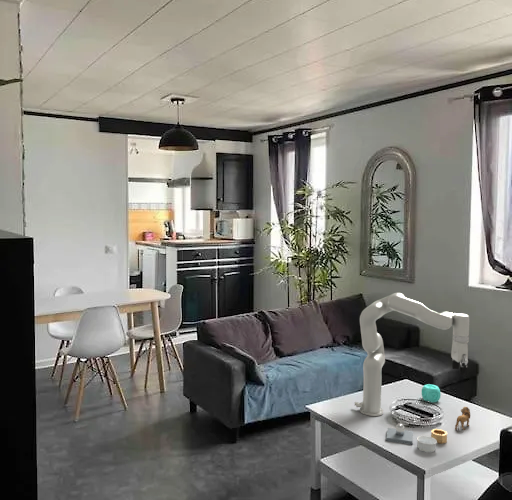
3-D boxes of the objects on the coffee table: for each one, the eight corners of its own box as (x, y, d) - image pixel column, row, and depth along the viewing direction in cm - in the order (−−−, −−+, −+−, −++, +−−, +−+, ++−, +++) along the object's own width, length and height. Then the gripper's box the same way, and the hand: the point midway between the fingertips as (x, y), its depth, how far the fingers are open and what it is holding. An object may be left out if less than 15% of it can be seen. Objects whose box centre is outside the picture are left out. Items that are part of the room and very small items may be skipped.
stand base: (386, 440, 254) (386, 437, 254) (387, 430, 265) (387, 427, 265) (412, 444, 250) (412, 441, 250) (412, 434, 262) (413, 431, 262)
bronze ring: (431, 442, 253) (431, 434, 253) (431, 436, 260) (431, 428, 259) (446, 444, 251) (447, 436, 251) (446, 438, 258) (446, 430, 257)
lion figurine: (460, 421, 279) (461, 404, 278) (471, 423, 276) (472, 406, 275) (453, 430, 266) (454, 413, 266) (464, 433, 263) (465, 415, 263)
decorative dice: (433, 397, 313) (434, 384, 312) (440, 402, 305) (441, 388, 304) (421, 397, 312) (421, 384, 311) (427, 402, 304) (427, 389, 303)
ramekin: (426, 443, 252) (426, 434, 252) (440, 450, 245) (441, 441, 244) (412, 446, 248) (412, 437, 248) (426, 454, 240) (427, 445, 240)
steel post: (395, 435, 256) (395, 425, 256) (395, 432, 260) (396, 422, 260) (404, 436, 255) (404, 426, 255) (404, 433, 259) (404, 423, 259)
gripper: (446, 334, 277) (445, 366, 278) (460, 342, 259) (458, 377, 261) (461, 334, 277) (459, 366, 278) (475, 343, 259) (473, 377, 261)
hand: (459, 371), depth 269 cm, fingers open, 9 cm apart
